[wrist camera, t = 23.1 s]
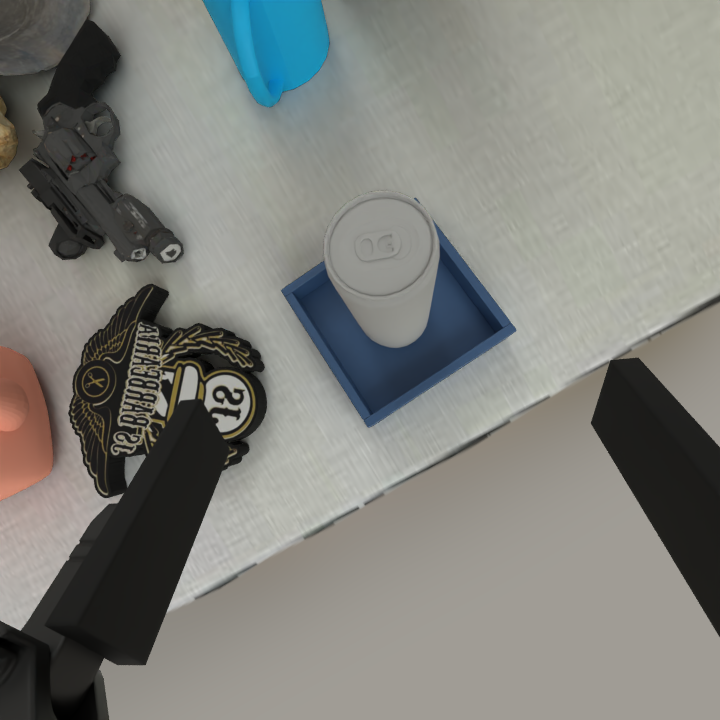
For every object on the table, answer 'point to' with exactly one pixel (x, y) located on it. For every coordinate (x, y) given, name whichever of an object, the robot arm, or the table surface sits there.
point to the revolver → (89, 163)
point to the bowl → (37, 33)
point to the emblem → (158, 387)
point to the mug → (272, 42)
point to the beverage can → (384, 264)
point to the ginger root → (6, 138)
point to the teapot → (22, 426)
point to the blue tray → (409, 363)
